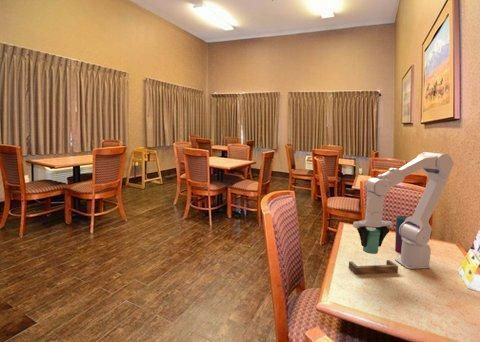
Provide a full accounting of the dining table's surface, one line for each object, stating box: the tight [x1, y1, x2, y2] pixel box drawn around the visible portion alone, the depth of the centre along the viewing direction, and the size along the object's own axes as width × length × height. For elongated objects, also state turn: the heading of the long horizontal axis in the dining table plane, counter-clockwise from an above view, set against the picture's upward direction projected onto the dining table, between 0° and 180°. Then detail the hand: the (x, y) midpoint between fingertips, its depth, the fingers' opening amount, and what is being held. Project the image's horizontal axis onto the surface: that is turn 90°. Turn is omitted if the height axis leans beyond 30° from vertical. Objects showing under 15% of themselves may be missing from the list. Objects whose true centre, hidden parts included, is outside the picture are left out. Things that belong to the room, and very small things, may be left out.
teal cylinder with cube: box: [359, 227, 381, 255], centre depth 111 cm, size 6×8×8 cm
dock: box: [348, 259, 399, 275], centre depth 109 cm, size 16×5×2 cm, turn 98°
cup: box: [394, 214, 410, 254], centre depth 126 cm, size 7×7×15 cm
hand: (370, 245), depth 110 cm, fingers closed on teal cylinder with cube, 5 cm apart
